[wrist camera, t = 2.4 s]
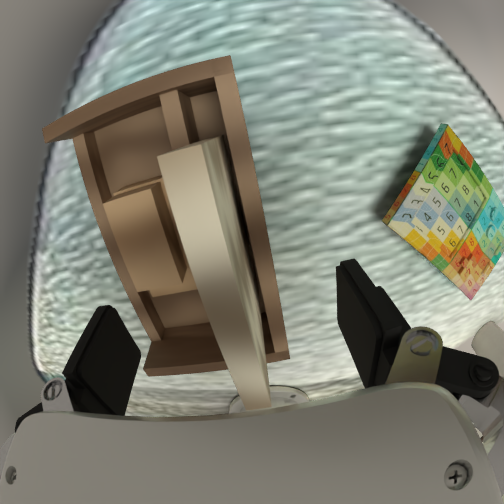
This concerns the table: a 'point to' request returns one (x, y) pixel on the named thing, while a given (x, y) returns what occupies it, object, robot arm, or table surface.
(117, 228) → the tan wooden block
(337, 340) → the table surface
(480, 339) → the coffee cup
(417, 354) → the robot arm
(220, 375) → the table surface
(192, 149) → the birch sheet
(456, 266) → the puzzle game
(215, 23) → the table surface
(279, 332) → the walnut rack
